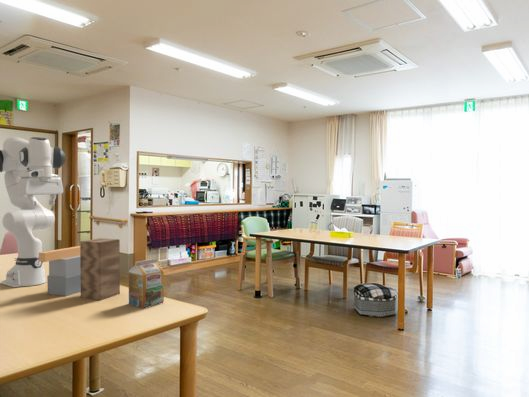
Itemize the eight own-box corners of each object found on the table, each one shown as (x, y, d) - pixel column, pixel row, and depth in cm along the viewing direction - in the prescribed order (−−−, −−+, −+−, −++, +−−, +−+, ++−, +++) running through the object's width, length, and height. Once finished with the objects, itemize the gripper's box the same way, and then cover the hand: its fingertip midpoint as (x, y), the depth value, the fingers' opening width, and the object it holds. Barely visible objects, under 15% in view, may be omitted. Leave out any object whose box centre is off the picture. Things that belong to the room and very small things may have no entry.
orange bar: (38, 261, 182) (38, 252, 182) (81, 253, 204) (81, 245, 204) (45, 261, 181) (45, 253, 181) (87, 254, 203) (87, 246, 203)
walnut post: (80, 297, 184) (80, 241, 184) (100, 291, 196) (100, 238, 195) (100, 300, 180) (100, 242, 179) (119, 293, 191) (119, 239, 190)
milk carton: (149, 298, 183) (149, 257, 182) (163, 303, 176) (163, 260, 176) (128, 303, 175) (128, 260, 174) (142, 308, 168) (142, 263, 167)
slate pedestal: (47, 293, 191) (47, 258, 191) (68, 287, 202) (68, 254, 202) (66, 296, 187) (65, 259, 186) (86, 290, 198) (86, 255, 197)
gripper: (55, 174, 187) (57, 204, 188) (14, 173, 168) (16, 206, 168) (65, 174, 185) (67, 203, 185) (25, 172, 166) (27, 206, 166)
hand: (42, 205), depth 177 cm, fingers open, 8 cm apart
